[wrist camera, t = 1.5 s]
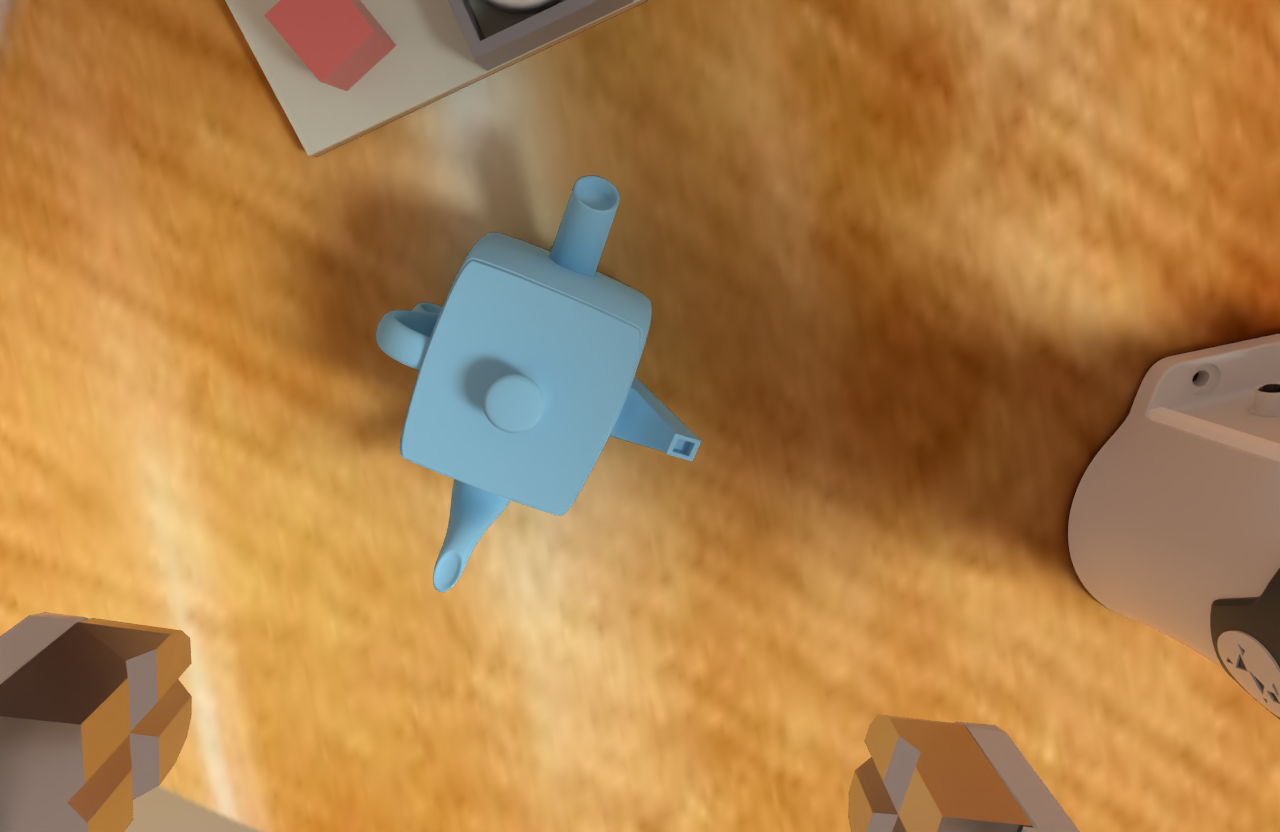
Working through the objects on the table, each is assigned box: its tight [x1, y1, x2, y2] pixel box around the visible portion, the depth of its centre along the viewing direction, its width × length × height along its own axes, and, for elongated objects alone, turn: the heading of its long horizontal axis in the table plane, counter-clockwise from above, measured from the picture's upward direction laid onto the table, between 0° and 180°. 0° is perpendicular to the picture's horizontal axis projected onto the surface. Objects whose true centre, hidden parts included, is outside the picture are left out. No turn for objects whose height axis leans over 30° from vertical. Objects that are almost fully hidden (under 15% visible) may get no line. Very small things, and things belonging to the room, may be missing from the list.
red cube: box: [264, 0, 396, 91], centre depth 30 cm, size 3×3×3 cm
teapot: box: [376, 175, 701, 592], centre depth 32 cm, size 18×14×10 cm
